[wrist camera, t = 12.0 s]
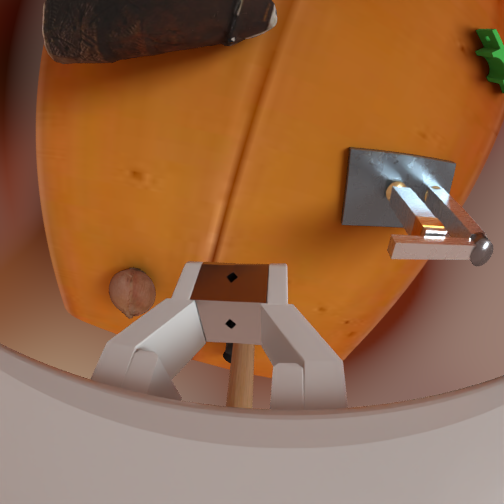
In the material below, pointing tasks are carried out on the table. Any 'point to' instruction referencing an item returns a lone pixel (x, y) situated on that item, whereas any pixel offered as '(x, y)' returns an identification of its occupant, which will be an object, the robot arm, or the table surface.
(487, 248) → the grey metal upright piece
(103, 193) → the table surface
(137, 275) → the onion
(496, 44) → the pipe clamp
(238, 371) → the hammer
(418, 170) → the bolt hole plate
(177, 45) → the dark brown oval body
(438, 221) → the post
